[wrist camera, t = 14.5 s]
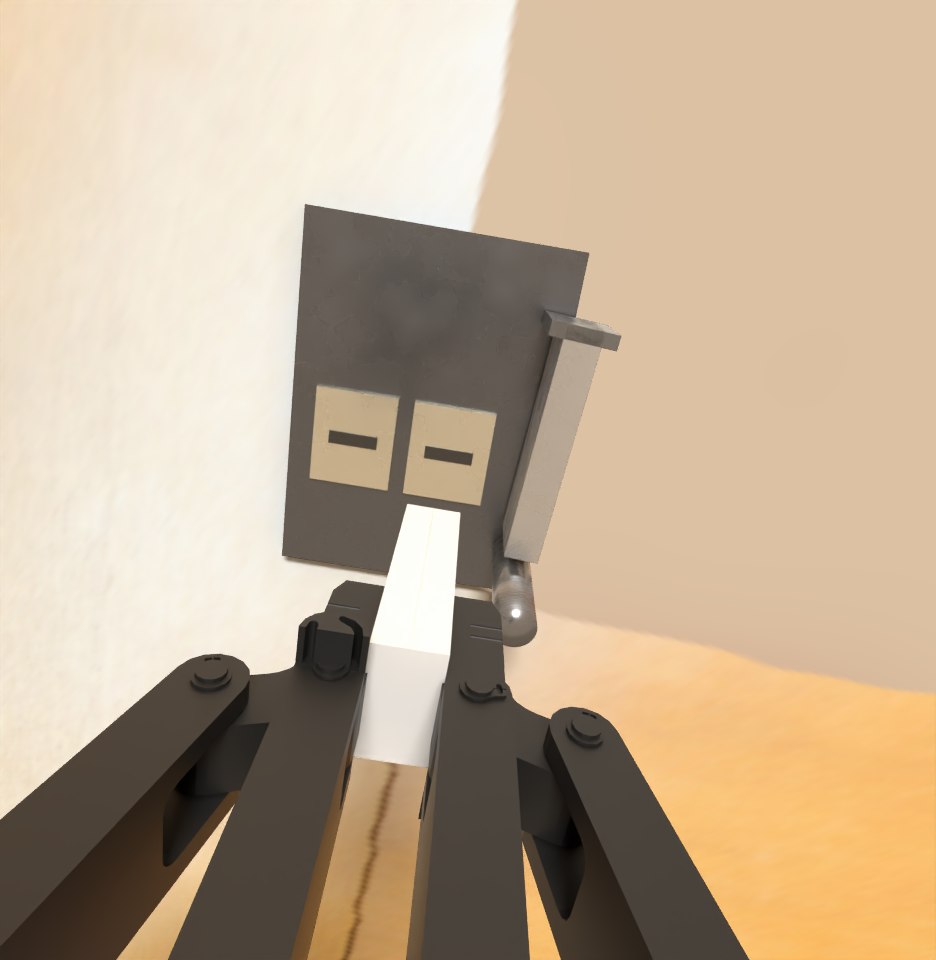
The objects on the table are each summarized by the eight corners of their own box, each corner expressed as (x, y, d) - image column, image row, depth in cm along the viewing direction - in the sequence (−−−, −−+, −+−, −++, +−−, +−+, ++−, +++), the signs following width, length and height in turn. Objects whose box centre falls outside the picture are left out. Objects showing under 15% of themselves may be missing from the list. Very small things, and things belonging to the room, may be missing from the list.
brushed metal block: (544, 533, 42) (550, 566, 37) (490, 521, 41) (490, 553, 37) (606, 325, 37) (621, 335, 33) (545, 310, 37) (552, 319, 32)
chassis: (286, 548, 44) (231, 631, 35) (309, 205, 37) (246, 192, 27) (518, 585, 45) (525, 677, 35) (590, 253, 37) (623, 257, 28)
